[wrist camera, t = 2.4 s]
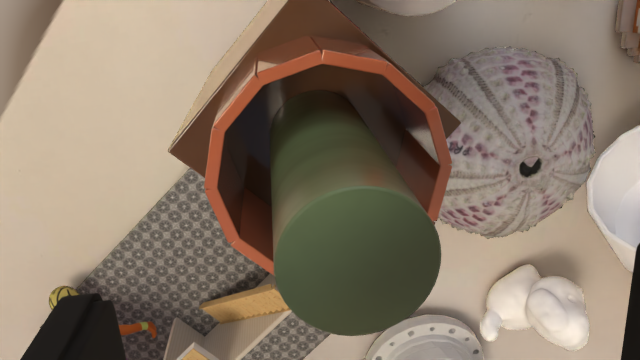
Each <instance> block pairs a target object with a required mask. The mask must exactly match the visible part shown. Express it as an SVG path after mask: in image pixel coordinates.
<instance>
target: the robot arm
mask: <svg viewBox="0 0 640 360" xmlns="http://www.w3.org/2000/svg"><path fill="white" fill-rule="evenodd" d="M20 360H127V359H126V355H125V351H124V346H123V342H122V338H121V333H120V329H119V325H118V321H117V316H116V312H115V308H114V305H113V303H112V301H111V300H105V301H103V300H102V297H101V296H100V294H98V293H91V294H82V295H73V296H64V297H62V298H61V299H60V300H59V301H58V303H57V304H56V306H55V307H54V309H53V310H52V312H51V313H50V315H49V316H48V318H47V320H46V321H45V323H44V324H43V326H42V327H41V329H40V330H39V332H38V333H37V335H36V336H35V338H34V339H33V341H32V343H31V344H30V346H29V347H28V349H27V350H26V352H25V353H24V355H23V356H22V358H21V359H20ZM621 360H640V243H639V245H638V246H637V249H636V255H635V262H634V269H633V276H632V284H631V291H630V298H629V305H628V313H627V320H626V327H625V334H624V341H623V349H622V356H621Z"/></svg>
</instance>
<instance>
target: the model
mask: <svg viewBox="0 0 640 360" xmlns="http://www.w3.org/2000/svg"><path fill="white" fill-rule="evenodd" d="M198 310H199V311H200V310H203V311H204V312H206V313H207V314H208V315H210V316H211V317H213V318H214V319H215V320H217V321H218V322H219V323H218V324H217V325H216V326H215V327H214V328H213V329H212V330H211V331H210V332H209V333H208V334H207V335H206V336H205V337H204V336H203V335H201V334H200V333H198V332H197V331H196V330H195V329H194V328H192V327H191V326H189V325H188V324H186V323H185V322H184V321H182V320H181V319H179V318H178V317H175V318H174V319H173V321H172V324H171V328H170V332H169V336H168V340H167V343H166V347H165V351H164V355H163V358H162V360H242V359H243V358H244V357H245V356H246V355H247V354H248V353H249V352H250V351H252V350H253V349H254V348H255V347H256V346H257V345H258V344H259V343H260V342H261V341H262V340H263V339H264V338H265V337H266V336H267V335H269V334H270V333H271V332H272V331H273V330H274V329H275V328H276V327H277V326H278V325H279V324H280V323H281V322H282V321H283V320H284V319H286V318H287V317H288V316H289V315H290V314H291V313H292V311H291V310H290V309H289V307H288V306H287V305H286V303H285V302H284V300H283V299H282V297H281V295H280V293H279V291H278V288H277V285H276V281H275V276H274V275H272V274H271V273H270V274H269V275H268V276H266V277H265V279H264V280H262V281H261V282H260V283H259V285H257V286H256V287H254V288H250V289H247V290H243V291H240V292H236V293H232V294H229V295H225V296H222V297H218V298H215V299H211V300H207V301H204V302H203V303H202V304H201V305H200V306H199V307H198Z"/></svg>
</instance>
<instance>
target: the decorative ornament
mask: <svg viewBox="0 0 640 360" xmlns="http://www.w3.org/2000/svg"><path fill="white" fill-rule="evenodd" d="M615 32H622V40H621V48H628V51H627V55H630V56H634V61H633V62H635V63H640V0H619V4H618V12H617V19H616V27H615Z"/></svg>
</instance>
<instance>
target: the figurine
mask: <svg viewBox="0 0 640 360" xmlns="http://www.w3.org/2000/svg"><path fill="white" fill-rule="evenodd" d="M486 305H487V311H486V312H485V314H484V316H483V318H482V319H481V322H480V332H481V335H482V336H483V338H484V339H485V340H487V341H494V340H496V339H497V337H498V329H499V328H500V327H501V326H502V327H504V328H506V329H509V330H525V329H529V328H531V327H533V328H534V329H535V330H536V331H537V332H538V333H539V335H540V336H542V337H543V338H545V339H546V340H548V341H549V342H551V343H553V344H556V345H559V346H561V347H563V348H564V349H566V350H568V351H576V350H578V349H580V348H582V347H584V346H585V345H586V344H587V342H588V340H589V336H588V334H589V330H590V323H589V319H588V316H587V314H586V305H585V300H584V297H583V289H582V288H581V287H579V286H577V285H576V284H575V283H573V282H572V281H570V280H568V279H566V278H563V277H559V276H550V277H545V278H543V277H541V276H539V274H538V272H537V270H536V268H535V267H534V266H532V265H529V264H527V265H523V266H520V267H518V268H517V269H515V270H514V271H512V272H511V273H509V274H508V275H506V276H504V277H503V278H501V279H499V280H498V281H497V282H496V283H495V284H494V285H493V286H492V287H491V289H490V290H489V292H488V294H487V298H486Z"/></svg>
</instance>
